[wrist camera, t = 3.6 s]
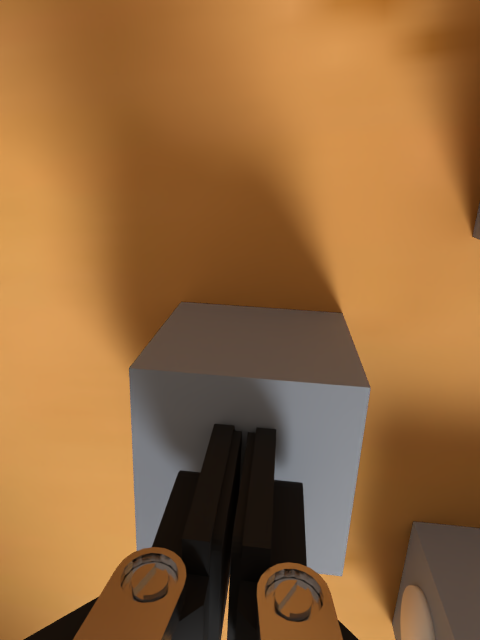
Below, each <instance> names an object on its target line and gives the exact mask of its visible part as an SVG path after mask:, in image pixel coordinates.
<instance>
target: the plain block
mask: <svg viewBox="0 0 480 640" xmlns="http://www.w3.org/2000/svg"><path fill="white" fill-rule="evenodd" d="M129 376H130V400H131V424H132V448H133V471H134V495H135V519H136V543H137V551H138V550H141V549H144V548H151V547H152V545H153V542H154V539H155V536H156V534H157V531H158V528H159V525H160V522H161V519H162V517H163V514H164V511H165V508H166V505H167V503H168V500H169V497H170V494H171V491H172V488H173V486H174V483H175V480H176V477H177V475H178V472H179V471H180V470H182V471H192V472H201V469H202V465H203V462H204V458H205V455H206V451H207V448H208V444H209V441H210V437H211V434H212V430H213V427H214V424H225V425H234V426H235V431H242V444H241V464H240V483H241V476H242V469H243V462H244V456H245V449H246V442H247V435H248V432H252V433H256V427H258V428H269V429H276V449H275V473H274V480H282V481H292V482H301V483H303V495H304V516H305V537H306V558H307V567H309V568H311V569H312V570H314V571H315V572H316V573H319V574H327V575H336V576H342V574H343V567H344V560H345V554H346V547H347V540H348V534H349V527H350V521H351V514H352V507H353V501H354V494H355V487H356V481H357V474H358V468H359V461H360V454H361V448H362V441H363V434H364V428H365V421H366V414H367V408H368V401H369V395H370V385H369V382H368V380H367V377H366V374H365V372H364V369H363V366H362V364H361V361H360V359H359V356H358V353H357V351H356V348H355V345H354V343H353V340H352V337H351V335H350V332H349V329H348V327H347V324H346V321H345V319H344V316H343V313H336V312H321V311H307V310H292V309H278V308H263V307H249V306H234V305H220V304H205V303H191V302H181V303H180V304H179V305H178V307H177V308H176V309H175V310H174V312H173V313H172V314H171V315H170V317H169V318H168V319H167V321H166V322H165V323H164V324H163V326H162V327H161V328H160V329H159V331H158V332H157V333H156V335H155V336H154V337H153V338H152V340H151V341H150V342H149V343H148V345H147V346H146V347H145V349H144V350H143V351H142V352H141V354H140V355H139V356H138V357H137V359H136V360H135V361H134V363H133V364H132V365H131V366H130V368H129ZM239 490H240V484H239Z"/></svg>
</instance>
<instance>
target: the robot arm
mask: <svg viewBox="0 0 480 640" xmlns="http://www.w3.org/2000/svg"><path fill="white" fill-rule="evenodd" d="M241 444H242V431H235V426H234V425H225V424H214V427H213V430H212V434H211V437H210V441H209V444H208V448H207V451H206V455H205V458H204V462H203V465H202V469H201V472H192V471H182V470H180V471H179V472H178V475H177V477H176V480H175V483H174V486H173V488H172V491H171V494H170V497H169V500H168V503H167V505H166V508H165V511H164V514H163V517H162V519H161V522H160V525H159V528H158V531H157V534H156V536H155V539H154V542H153V545H152V547H151V548H144V549H141V550H138V551H136V552H133V553H132V554H130V555H129V556H127V557H126V558H125V559H123V561H122V562H121V563H120V564H119V566H118V567H117V568H116V570H115V571H114V573H113V575H112V576H111V578H110V580H109V581H108V583H107V584H106V586H105V588H104V589H103V591H102V593H101V594H100V596H99V597H97V598H96V599H94V600H92V601H90V602H89V603H87V604H85V605H83V606H82V607H80V608H78V609H76V610H75V611H73V612H71V613H69V614H68V615H66V616H64V617H62V618H61V619H59V620H57V621H55V622H54V623H52V624H50V625H48V626H47V627H45V628H43V629H41V630H40V631H38V632H36V633H34V634H33V635H31V636H29V637H27V638H26V639H24V640H221V634H222V627H223V620H224V613H225V606H226V599H227V592H228V585H229V578H230V587H229V609H228V631H227V640H358V639H357V638H356V637H355V636H354V635H353V634H352V633H351V632H350V631H349V630H348V629H347V628H346V627H345V626H344V625H343V624H342V623H341V622H340V621H339V620H338V619H337V615H336V611H335V607H334V604H333V600H332V596H331V593H330V590H329V588H328V586H327V583H326V582H325V581H324V580H323V578H322V577H321V576H320V575H319V574H318V573H316V572H315V571H314V570H312V569H311V568H309V567H307V558H306V537H305V516H304V495H303V483H301V482H292V481H282V480H274V473H275V449H276V429H269V428H258V427H256V433H252V432H248V435H247V442H246V449H245V456H244V462H243V469H242V476H241V483H240V464H241ZM239 484H240V490H239Z"/></svg>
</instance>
